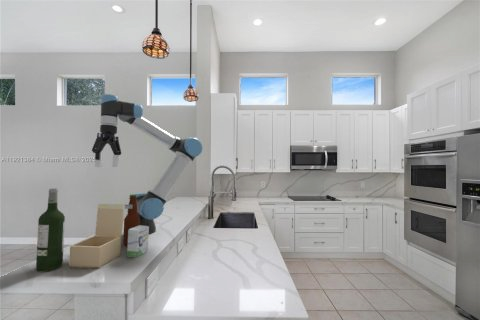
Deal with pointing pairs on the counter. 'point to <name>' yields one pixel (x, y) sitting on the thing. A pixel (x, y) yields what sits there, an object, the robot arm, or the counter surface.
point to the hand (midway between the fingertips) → (107, 167)
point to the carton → (94, 251)
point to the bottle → (130, 219)
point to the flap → (110, 219)
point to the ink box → (137, 241)
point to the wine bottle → (50, 236)
